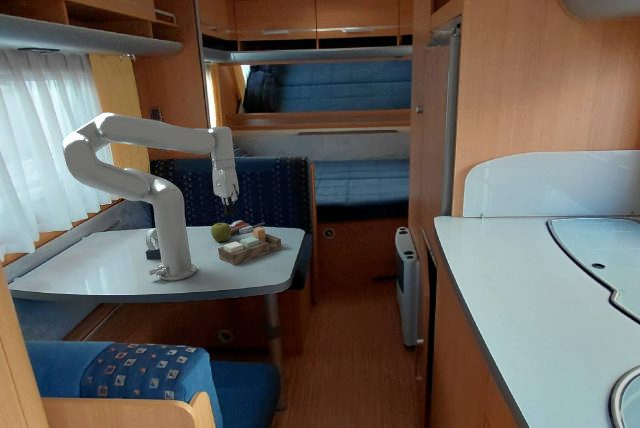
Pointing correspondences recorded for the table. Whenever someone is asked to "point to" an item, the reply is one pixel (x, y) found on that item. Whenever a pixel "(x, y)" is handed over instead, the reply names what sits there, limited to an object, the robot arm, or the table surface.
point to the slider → (259, 233)
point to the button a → (233, 247)
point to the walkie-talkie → (242, 227)
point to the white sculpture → (152, 250)
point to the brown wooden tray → (251, 251)
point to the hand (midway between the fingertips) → (229, 214)
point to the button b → (249, 241)
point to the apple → (221, 232)
